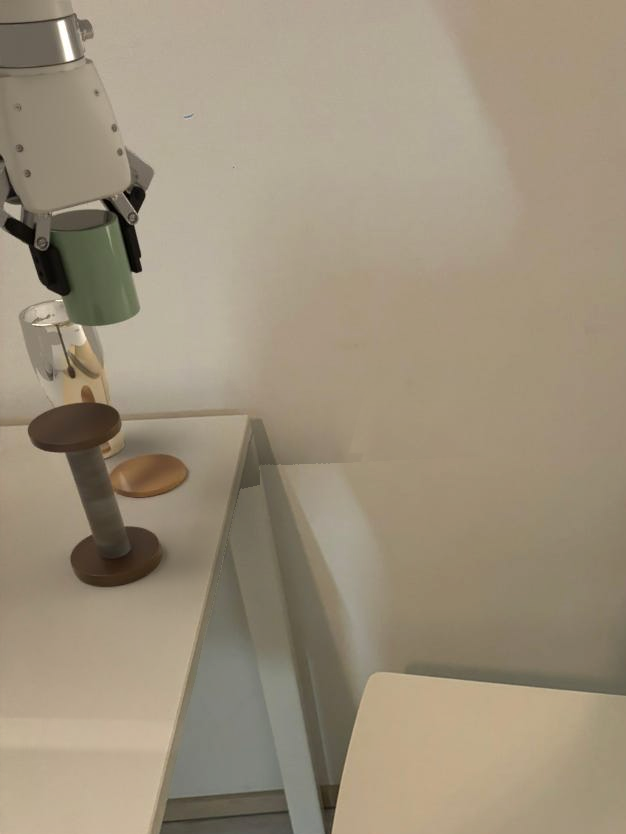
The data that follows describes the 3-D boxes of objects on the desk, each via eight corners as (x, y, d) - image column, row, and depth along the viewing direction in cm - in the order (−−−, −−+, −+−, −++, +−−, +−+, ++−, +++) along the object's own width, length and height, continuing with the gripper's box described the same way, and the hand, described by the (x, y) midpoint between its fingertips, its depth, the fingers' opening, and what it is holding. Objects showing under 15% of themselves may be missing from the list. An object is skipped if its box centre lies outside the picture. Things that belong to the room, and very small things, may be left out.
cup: (56, 326, 83) (27, 232, 78) (82, 298, 88) (55, 208, 83) (127, 326, 83) (102, 232, 78) (149, 298, 88) (127, 208, 82)
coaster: (99, 496, 94) (98, 491, 94) (123, 458, 100) (122, 453, 99) (174, 497, 94) (173, 492, 93) (194, 459, 100) (193, 454, 99)
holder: (60, 586, 83) (7, 445, 74) (91, 535, 89) (45, 399, 80) (147, 587, 83) (105, 446, 74) (172, 536, 89) (135, 400, 79)
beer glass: (137, 451, 101) (100, 315, 91) (72, 470, 98) (26, 331, 88) (117, 425, 105) (78, 292, 95) (54, 443, 102) (7, 308, 92)
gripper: (104, 26, 78) (154, 246, 90) (-106, 56, 69) (-19, 298, 81) (154, 35, 75) (201, 263, 86) (-60, 68, 65) (25, 321, 77)
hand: (94, 278), depth 83 cm, fingers closed on cup, 6 cm apart
